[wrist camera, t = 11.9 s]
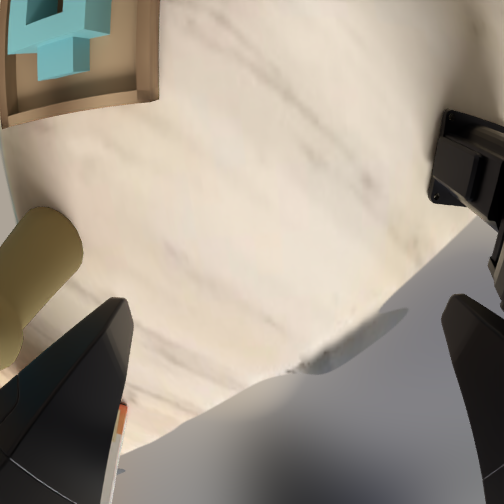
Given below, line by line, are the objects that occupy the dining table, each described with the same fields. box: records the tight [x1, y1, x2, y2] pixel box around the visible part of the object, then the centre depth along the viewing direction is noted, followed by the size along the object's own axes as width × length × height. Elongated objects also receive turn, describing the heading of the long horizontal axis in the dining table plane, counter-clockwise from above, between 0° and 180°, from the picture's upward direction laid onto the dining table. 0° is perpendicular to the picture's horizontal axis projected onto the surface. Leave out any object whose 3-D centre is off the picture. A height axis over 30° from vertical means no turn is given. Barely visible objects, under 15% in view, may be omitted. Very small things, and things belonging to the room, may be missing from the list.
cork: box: [0, 207, 83, 370], centre depth 15 cm, size 6×6×11 cm
